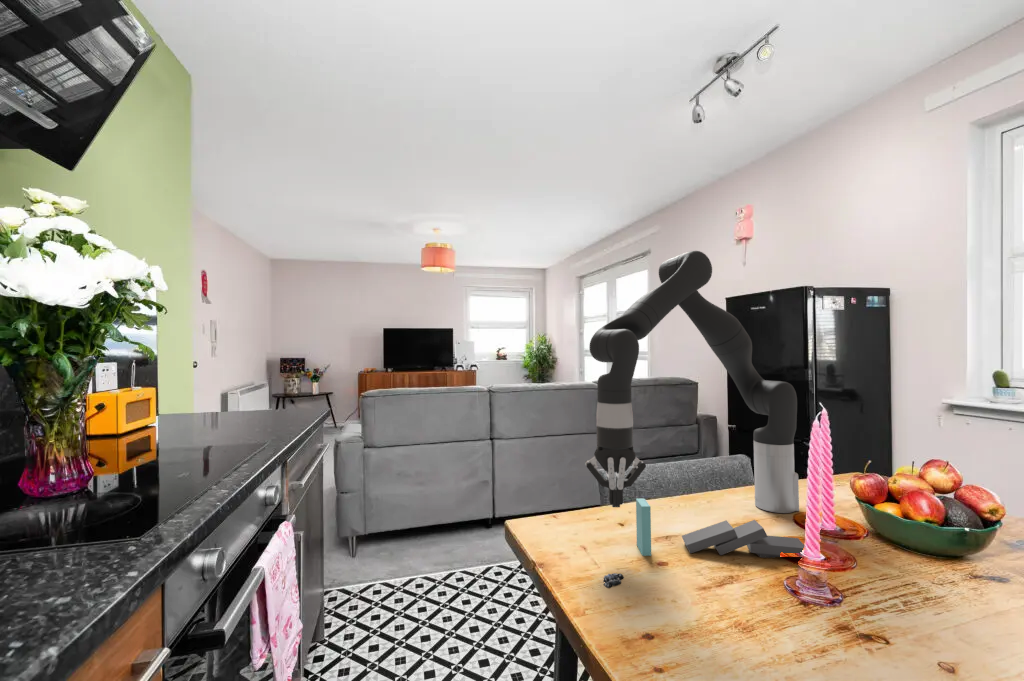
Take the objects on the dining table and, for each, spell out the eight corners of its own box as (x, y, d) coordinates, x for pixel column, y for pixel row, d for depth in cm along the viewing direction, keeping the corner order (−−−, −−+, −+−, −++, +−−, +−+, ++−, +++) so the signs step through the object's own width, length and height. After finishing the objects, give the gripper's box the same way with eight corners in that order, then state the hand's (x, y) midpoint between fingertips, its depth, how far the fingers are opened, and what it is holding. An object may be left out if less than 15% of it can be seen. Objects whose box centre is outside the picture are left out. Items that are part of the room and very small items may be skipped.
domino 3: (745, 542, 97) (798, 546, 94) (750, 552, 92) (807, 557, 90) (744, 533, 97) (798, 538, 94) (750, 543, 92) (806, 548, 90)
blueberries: (640, 583, 85) (640, 572, 85) (624, 599, 78) (624, 587, 78) (606, 573, 89) (606, 563, 89) (588, 588, 82) (588, 577, 82)
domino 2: (713, 545, 98) (758, 527, 97) (720, 555, 93) (767, 536, 92) (709, 537, 98) (754, 519, 97) (716, 547, 93) (763, 528, 92)
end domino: (645, 545, 99) (644, 498, 99) (651, 555, 94) (650, 506, 94) (636, 545, 99) (636, 498, 99) (642, 555, 94) (641, 506, 94)
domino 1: (684, 543, 99) (729, 528, 98) (690, 553, 94) (737, 537, 93) (681, 535, 99) (726, 520, 98) (686, 545, 95) (734, 528, 93)
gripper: (641, 421, 101) (642, 500, 100) (581, 421, 101) (582, 500, 101) (650, 426, 93) (651, 512, 93) (585, 426, 94) (586, 512, 93)
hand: (615, 506), depth 97 cm, fingers closed
